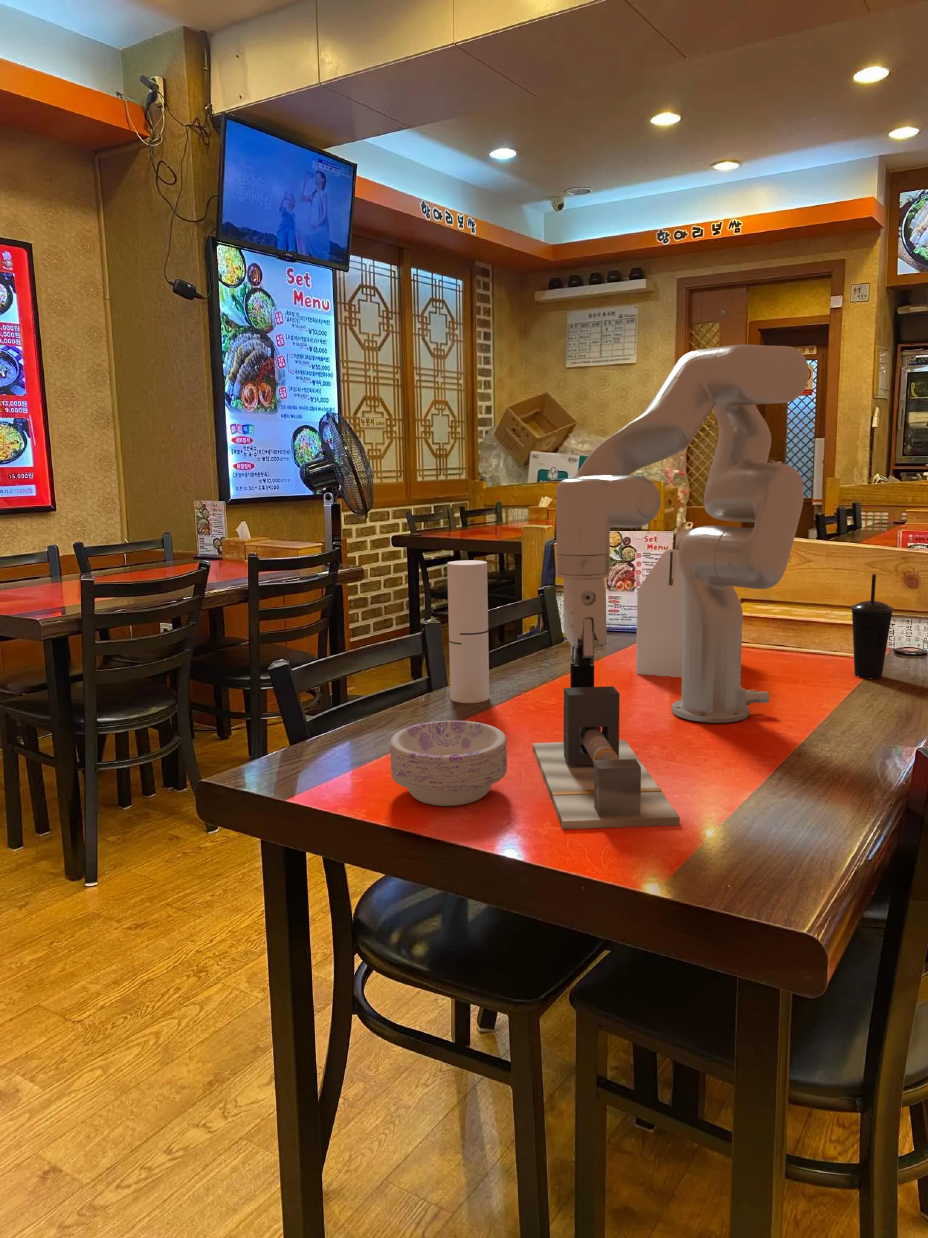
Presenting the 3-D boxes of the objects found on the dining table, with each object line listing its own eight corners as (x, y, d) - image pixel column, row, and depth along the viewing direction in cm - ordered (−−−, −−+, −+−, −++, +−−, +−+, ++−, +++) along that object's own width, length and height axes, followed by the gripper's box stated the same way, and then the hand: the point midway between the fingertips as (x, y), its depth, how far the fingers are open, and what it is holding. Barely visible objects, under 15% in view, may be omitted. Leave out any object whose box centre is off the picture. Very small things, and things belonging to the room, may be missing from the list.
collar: (563, 756, 129) (563, 687, 127) (612, 754, 129) (613, 686, 128) (568, 765, 125) (568, 695, 123) (618, 764, 126) (619, 693, 124)
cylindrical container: (485, 703, 163) (483, 564, 159) (446, 702, 165) (443, 564, 160) (492, 693, 170) (490, 560, 166) (454, 692, 172) (451, 560, 167)
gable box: (702, 680, 177) (706, 536, 172) (635, 674, 183) (637, 535, 178) (722, 657, 197) (725, 527, 192) (661, 652, 202) (663, 526, 198)
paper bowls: (415, 824, 110) (413, 761, 109) (376, 784, 124) (374, 728, 122) (527, 803, 116) (527, 743, 115) (478, 767, 130) (477, 714, 128)
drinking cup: (892, 674, 178) (898, 572, 175) (886, 682, 172) (893, 577, 169) (850, 670, 182) (856, 571, 179) (843, 678, 176) (849, 575, 173)
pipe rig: (532, 749, 137) (532, 704, 136) (625, 746, 138) (625, 701, 136) (562, 829, 108) (562, 772, 106) (679, 825, 108) (680, 768, 107)
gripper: (619, 571, 122) (618, 704, 126) (599, 559, 137) (598, 678, 140) (564, 572, 122) (563, 705, 125) (549, 560, 137) (549, 679, 140)
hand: (582, 690), depth 133 cm, fingers closed
